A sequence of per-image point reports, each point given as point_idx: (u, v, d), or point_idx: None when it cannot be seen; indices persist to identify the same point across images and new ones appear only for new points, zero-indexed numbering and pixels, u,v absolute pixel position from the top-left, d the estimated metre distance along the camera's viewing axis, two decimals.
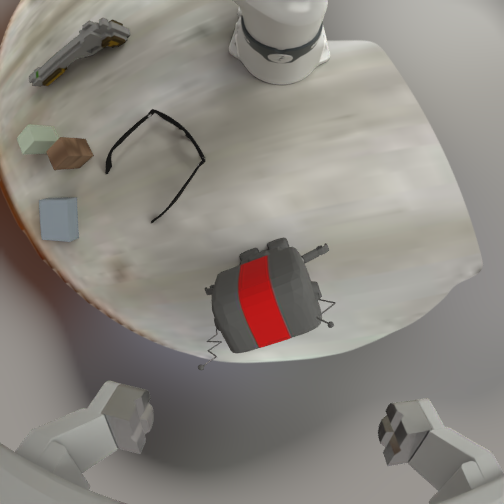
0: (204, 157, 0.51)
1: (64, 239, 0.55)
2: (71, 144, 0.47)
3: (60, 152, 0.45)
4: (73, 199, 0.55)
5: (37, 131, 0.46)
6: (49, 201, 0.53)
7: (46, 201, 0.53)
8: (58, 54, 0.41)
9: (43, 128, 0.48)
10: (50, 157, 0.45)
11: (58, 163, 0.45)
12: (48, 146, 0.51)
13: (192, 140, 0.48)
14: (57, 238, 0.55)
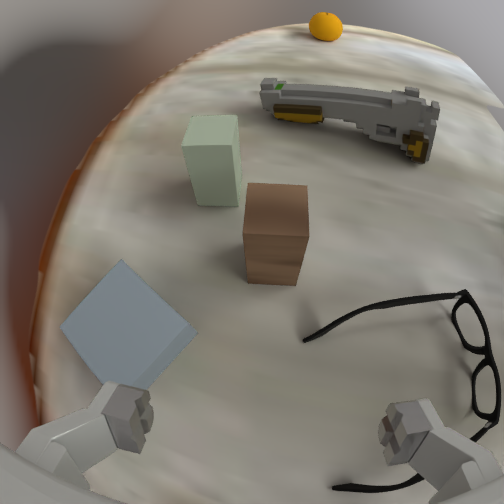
0: (490, 415, 0.18)
1: None
2: None
3: (287, 212, 0.21)
4: (192, 331, 0.25)
5: (236, 145, 0.28)
6: (141, 284, 0.24)
7: (135, 277, 0.25)
8: (339, 89, 0.33)
9: (239, 155, 0.30)
10: (251, 201, 0.22)
11: (266, 229, 0.20)
12: (218, 192, 0.30)
13: (499, 380, 0.18)
14: (93, 365, 0.21)
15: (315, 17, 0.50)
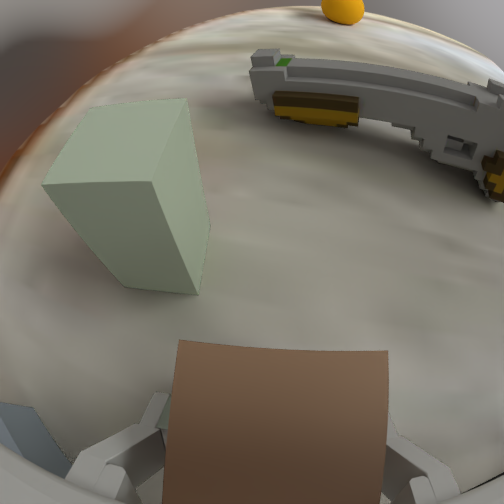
0: None
1: None
2: None
3: (317, 469, 0.05)
4: None
5: (184, 172, 0.11)
6: None
7: (11, 445, 0.08)
8: (389, 70, 0.17)
9: (197, 191, 0.14)
10: (189, 424, 0.05)
11: None
12: (153, 272, 0.14)
13: None
14: None
15: None
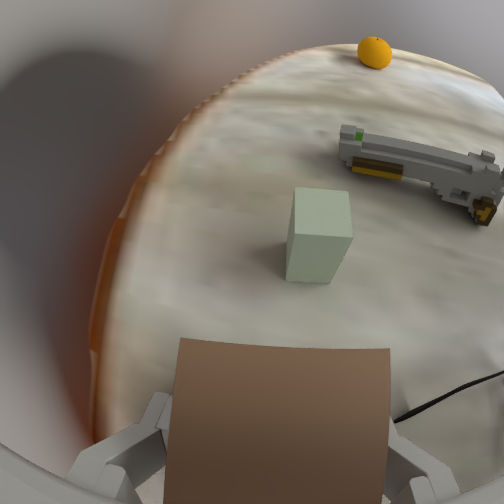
0: None
1: None
2: None
3: (320, 468, 0.05)
4: None
5: None
6: None
7: None
8: (422, 147, 0.30)
9: None
10: (191, 423, 0.05)
11: None
12: (315, 272, 0.28)
13: None
14: None
15: (366, 42, 0.48)
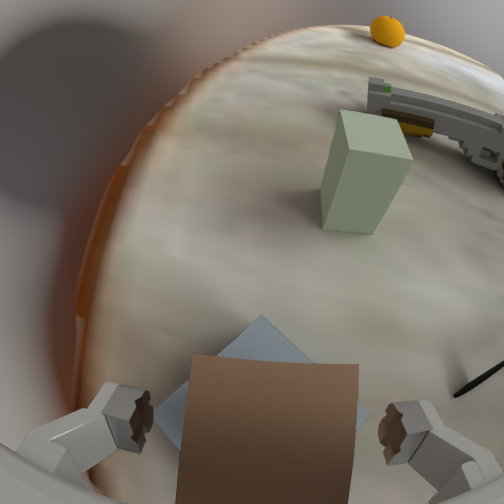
0: None
1: None
2: None
3: (299, 456, 0.06)
4: None
5: None
6: (301, 359, 0.16)
7: (288, 347, 0.16)
8: (451, 103, 0.25)
9: None
10: (200, 419, 0.07)
11: (237, 503, 0.06)
12: (360, 215, 0.22)
13: None
14: None
15: (379, 20, 0.44)
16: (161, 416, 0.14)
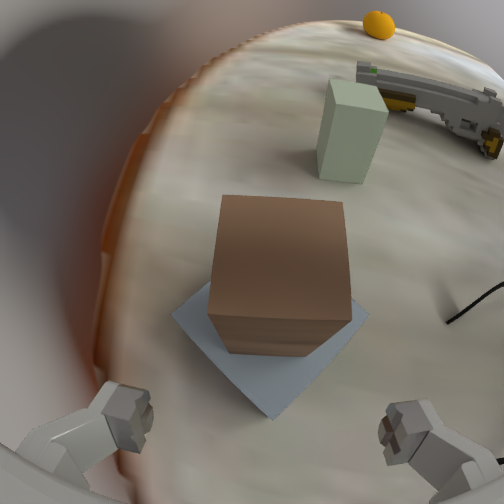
0: None
1: (259, 398, 0.16)
2: None
3: (306, 262, 0.10)
4: None
5: None
6: None
7: None
8: (431, 81, 0.29)
9: None
10: (229, 236, 0.10)
11: (260, 305, 0.09)
12: (350, 164, 0.26)
13: None
14: (234, 371, 0.16)
15: (371, 14, 0.47)
16: (182, 316, 0.18)
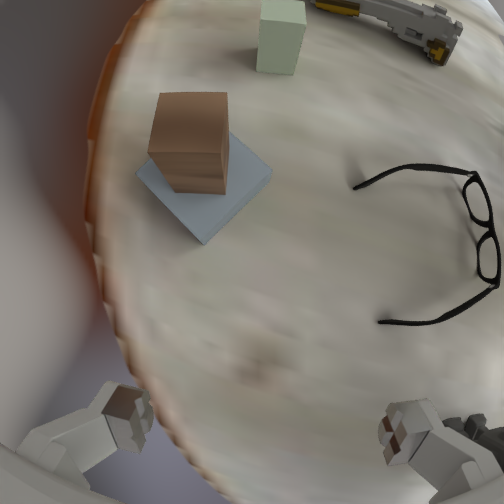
0: None
1: (190, 224, 0.25)
2: (225, 133, 0.20)
3: (199, 124, 0.17)
4: (268, 180, 0.28)
5: None
6: None
7: None
8: None
9: None
10: (161, 114, 0.17)
11: (173, 146, 0.17)
12: (280, 61, 0.29)
13: (499, 251, 0.26)
14: (175, 206, 0.26)
15: None
16: (143, 173, 0.26)
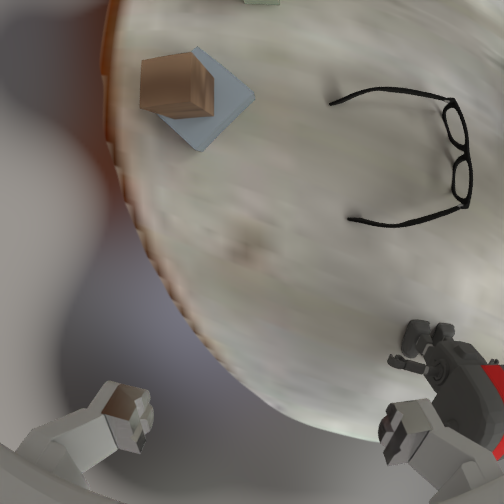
0: None
1: (188, 138, 0.31)
2: (199, 78, 0.23)
3: (173, 81, 0.21)
4: (253, 98, 0.31)
5: None
6: (216, 64, 0.28)
7: (210, 59, 0.28)
8: None
9: None
10: (145, 77, 0.21)
11: (157, 101, 0.21)
12: None
13: (472, 175, 0.29)
14: (176, 125, 0.30)
15: None
16: None
